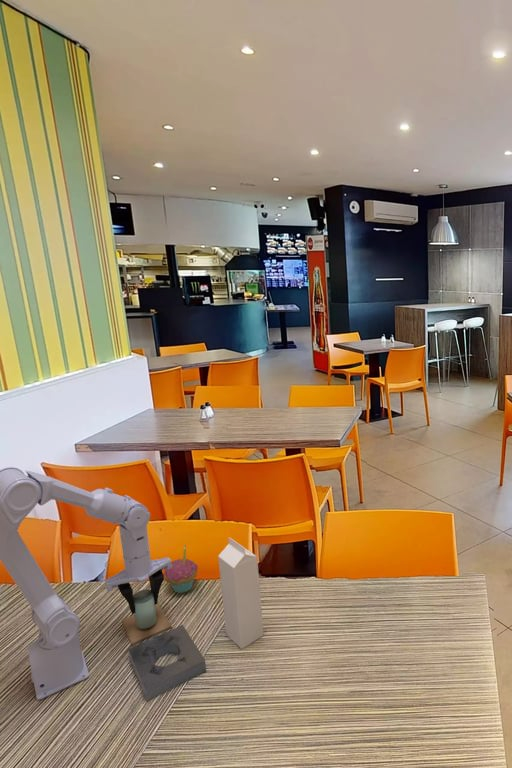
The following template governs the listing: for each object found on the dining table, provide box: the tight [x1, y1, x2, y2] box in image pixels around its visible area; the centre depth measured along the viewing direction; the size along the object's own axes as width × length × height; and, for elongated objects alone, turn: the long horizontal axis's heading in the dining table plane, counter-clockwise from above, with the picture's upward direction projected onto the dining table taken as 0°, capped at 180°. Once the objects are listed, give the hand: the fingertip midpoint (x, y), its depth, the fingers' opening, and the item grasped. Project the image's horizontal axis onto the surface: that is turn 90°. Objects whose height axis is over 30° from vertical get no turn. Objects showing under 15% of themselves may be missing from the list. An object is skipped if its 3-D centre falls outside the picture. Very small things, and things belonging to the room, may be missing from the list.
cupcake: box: [163, 544, 199, 594], centre depth 114 cm, size 9×8×12 cm
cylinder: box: [133, 588, 157, 629], centre depth 102 cm, size 5×5×6 cm
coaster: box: [120, 603, 173, 647], centre depth 103 cm, size 9×9×1 cm
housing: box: [127, 624, 207, 702], centre depth 91 cm, size 12×12×2 cm
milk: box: [217, 537, 264, 650], centre depth 95 cm, size 6×6×22 cm
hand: (143, 606), depth 102 cm, fingers closed on cylinder, 4 cm apart
